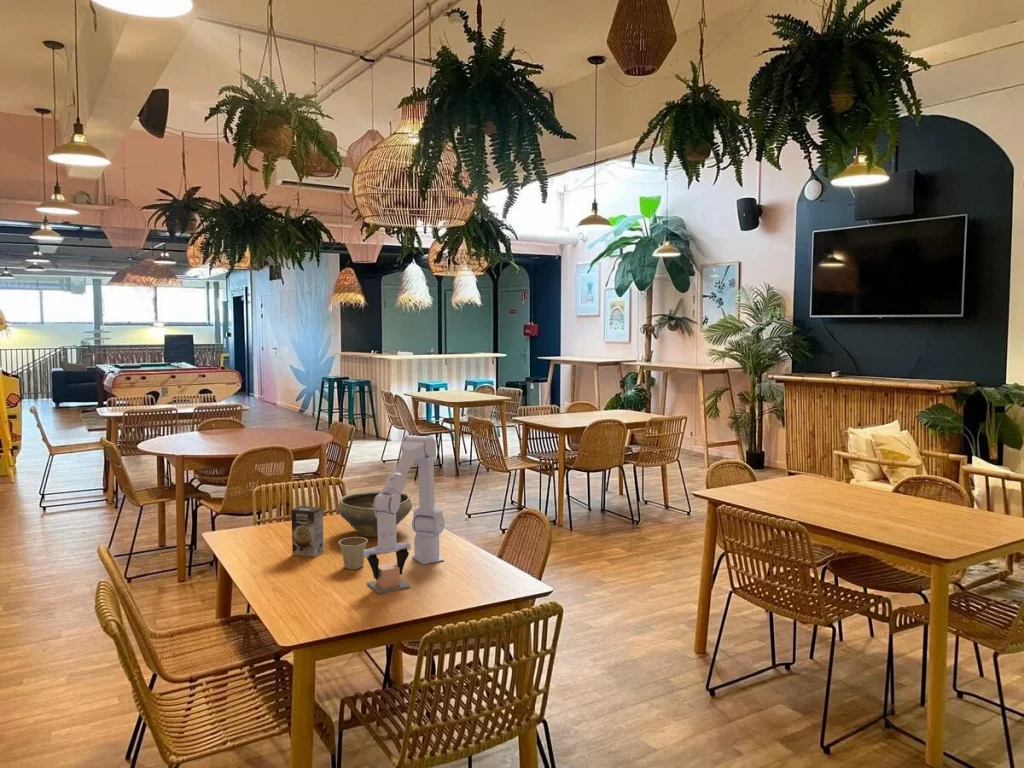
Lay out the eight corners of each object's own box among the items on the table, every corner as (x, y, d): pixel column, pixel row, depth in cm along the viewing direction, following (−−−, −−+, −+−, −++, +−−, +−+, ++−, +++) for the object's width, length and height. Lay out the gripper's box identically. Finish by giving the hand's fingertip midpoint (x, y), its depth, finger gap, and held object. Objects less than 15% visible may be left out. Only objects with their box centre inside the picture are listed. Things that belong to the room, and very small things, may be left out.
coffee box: (291, 555, 254) (290, 509, 253) (302, 549, 261) (300, 505, 259) (314, 557, 252) (313, 511, 250) (324, 551, 258) (323, 506, 257)
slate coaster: (366, 584, 226) (366, 582, 226) (397, 578, 231) (397, 576, 231) (378, 594, 217) (378, 592, 217) (409, 587, 222) (409, 585, 222)
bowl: (325, 533, 281) (324, 497, 280) (386, 520, 300) (385, 486, 299) (363, 548, 261) (362, 509, 260) (426, 533, 279) (425, 496, 278)
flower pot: (345, 573, 236) (344, 547, 235) (335, 565, 243) (334, 540, 243) (372, 567, 241) (372, 542, 240) (361, 560, 249) (361, 535, 248)
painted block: (376, 583, 225) (375, 565, 224) (392, 579, 228) (392, 562, 227) (382, 588, 220) (382, 570, 220) (399, 585, 223) (399, 567, 223)
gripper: (368, 539, 215) (369, 584, 217) (414, 532, 223) (415, 575, 224) (360, 533, 221) (361, 577, 223) (405, 526, 229) (406, 568, 230)
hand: (387, 576), depth 224 cm, fingers open, 7 cm apart
